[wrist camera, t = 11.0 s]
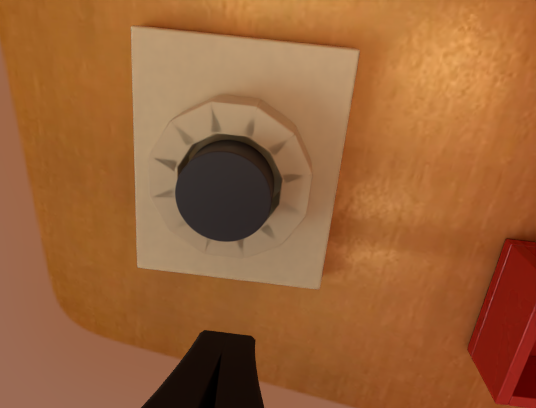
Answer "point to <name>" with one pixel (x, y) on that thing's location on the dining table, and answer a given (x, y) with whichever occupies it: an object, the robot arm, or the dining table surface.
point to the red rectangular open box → (509, 328)
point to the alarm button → (225, 191)
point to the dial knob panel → (244, 130)
